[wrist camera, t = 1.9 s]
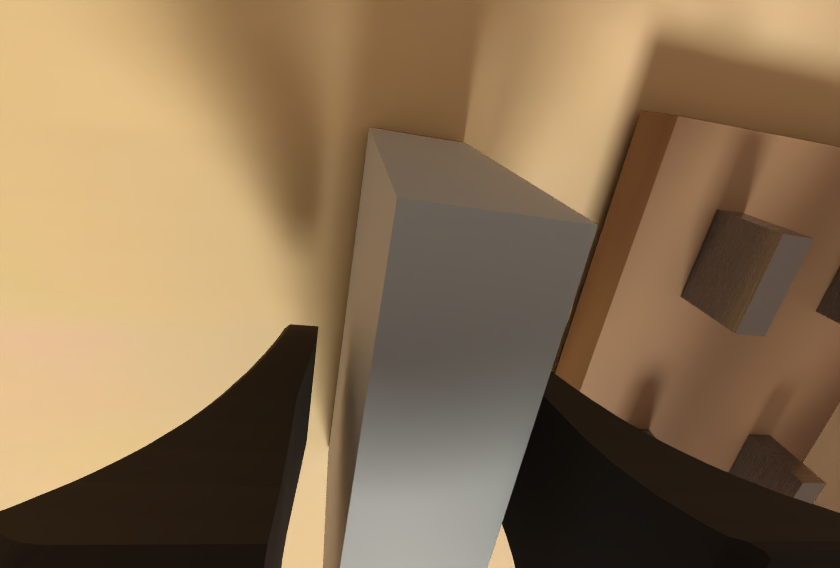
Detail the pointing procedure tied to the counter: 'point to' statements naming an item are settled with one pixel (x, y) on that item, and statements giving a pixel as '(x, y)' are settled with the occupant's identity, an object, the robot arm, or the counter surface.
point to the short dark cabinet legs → (756, 321)
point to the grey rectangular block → (443, 351)
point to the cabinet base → (686, 324)
